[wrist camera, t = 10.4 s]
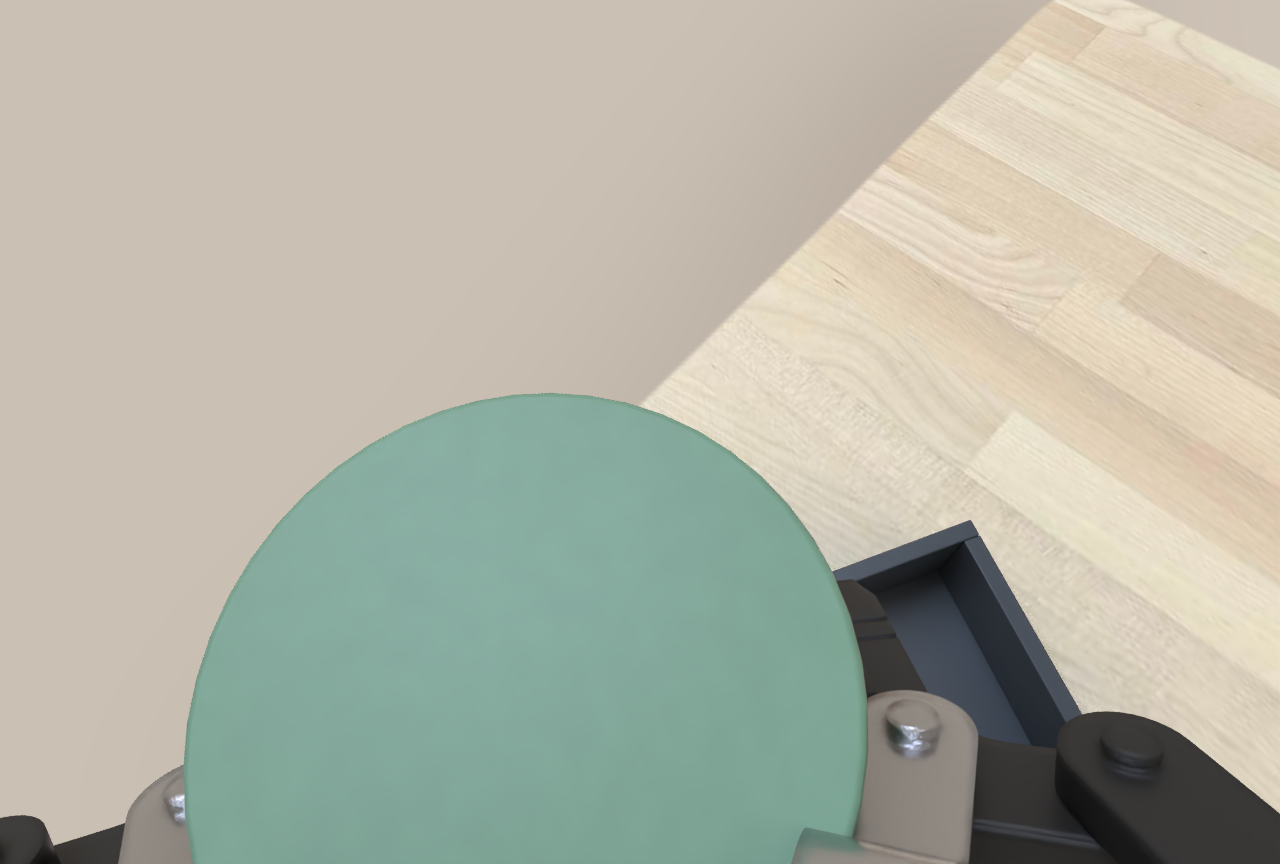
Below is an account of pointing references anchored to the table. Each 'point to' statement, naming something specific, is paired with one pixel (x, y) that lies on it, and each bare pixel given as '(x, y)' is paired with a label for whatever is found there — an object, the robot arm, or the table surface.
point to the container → (530, 657)
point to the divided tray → (969, 635)
